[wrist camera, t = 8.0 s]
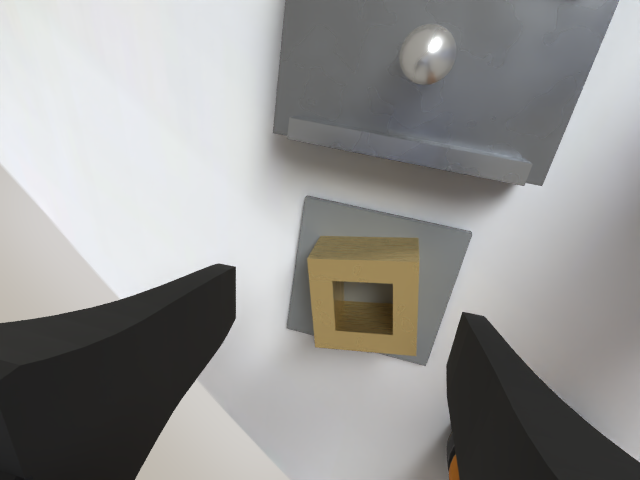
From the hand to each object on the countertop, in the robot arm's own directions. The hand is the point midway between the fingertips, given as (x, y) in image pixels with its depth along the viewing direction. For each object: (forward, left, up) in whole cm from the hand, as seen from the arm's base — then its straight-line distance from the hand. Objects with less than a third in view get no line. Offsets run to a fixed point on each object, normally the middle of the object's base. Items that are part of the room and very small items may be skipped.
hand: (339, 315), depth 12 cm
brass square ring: (-1, +4, -9) cm, 10 cm away
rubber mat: (-1, +4, -10) cm, 11 cm away
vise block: (-1, -8, -10) cm, 13 cm away
